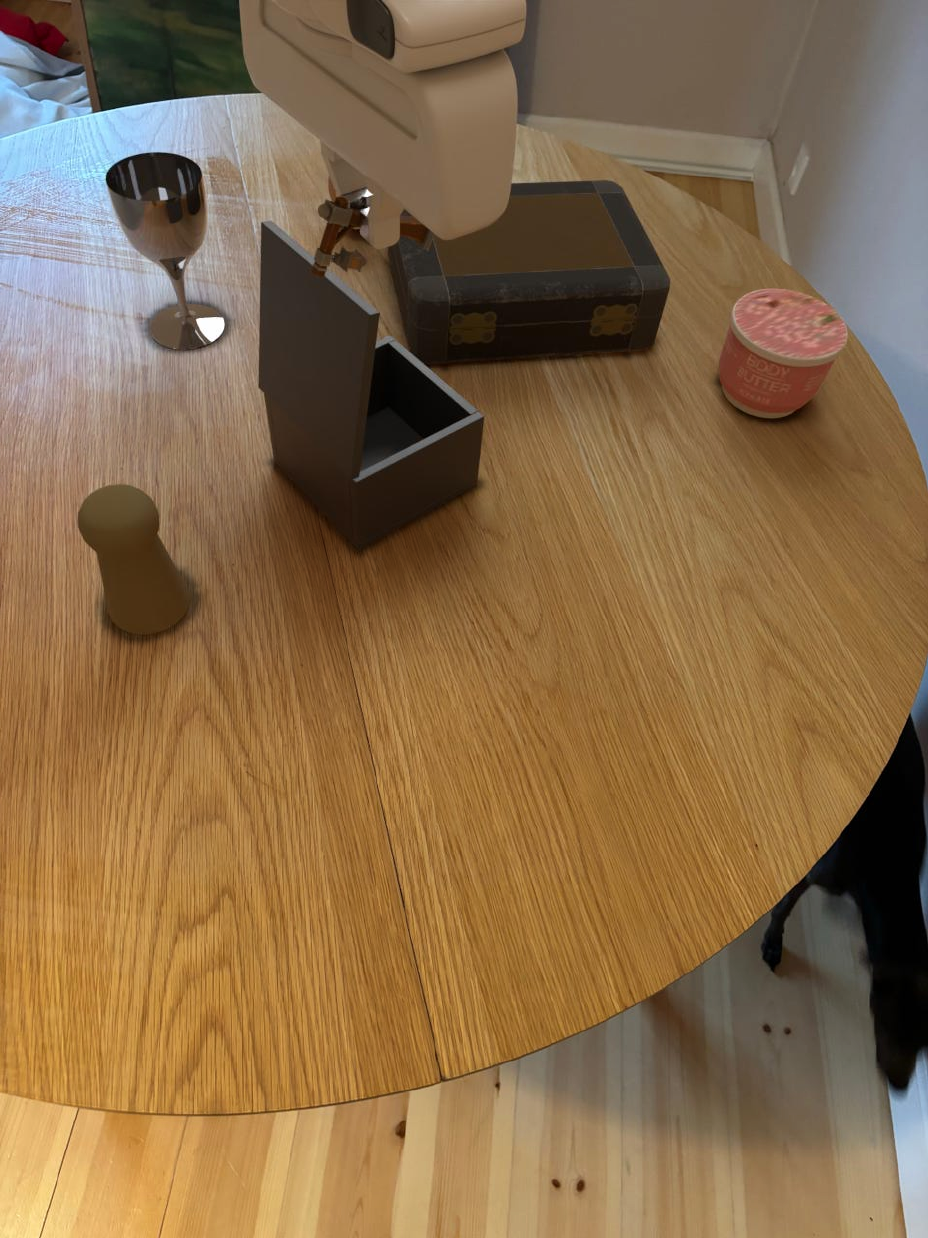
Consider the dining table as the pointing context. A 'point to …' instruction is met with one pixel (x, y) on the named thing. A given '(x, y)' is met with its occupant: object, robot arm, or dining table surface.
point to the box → (389, 450)
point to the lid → (315, 349)
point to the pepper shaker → (133, 560)
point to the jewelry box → (535, 280)
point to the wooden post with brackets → (349, 218)
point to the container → (778, 351)
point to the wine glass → (166, 235)
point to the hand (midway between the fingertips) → (368, 231)
